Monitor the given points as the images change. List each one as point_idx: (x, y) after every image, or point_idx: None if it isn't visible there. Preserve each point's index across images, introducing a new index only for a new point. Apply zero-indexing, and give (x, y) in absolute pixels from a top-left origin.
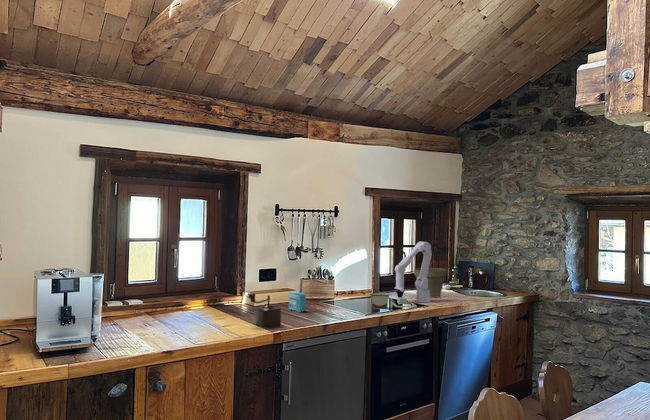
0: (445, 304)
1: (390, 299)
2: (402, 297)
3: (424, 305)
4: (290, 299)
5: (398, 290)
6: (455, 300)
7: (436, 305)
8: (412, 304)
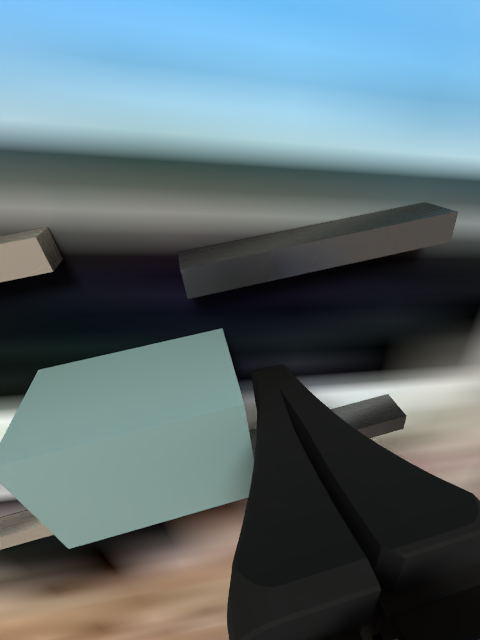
0: (201, 623)
1: (448, 210)
2: (232, 478)
3: (97, 571)
4: None
5: (385, 615)
6: None
7: (135, 612)
8: (30, 522)
